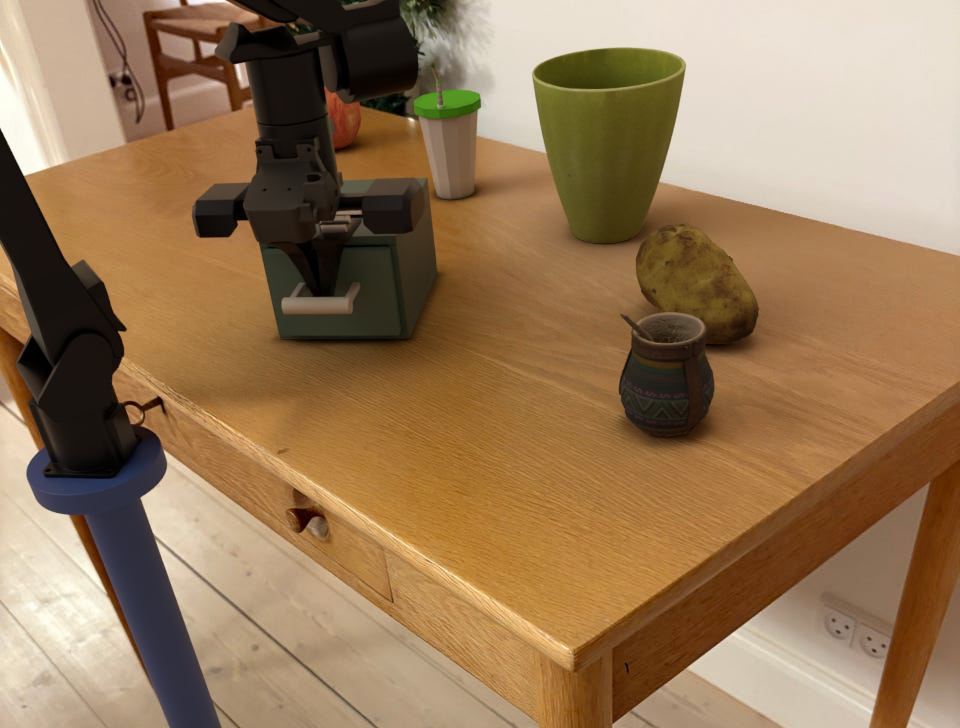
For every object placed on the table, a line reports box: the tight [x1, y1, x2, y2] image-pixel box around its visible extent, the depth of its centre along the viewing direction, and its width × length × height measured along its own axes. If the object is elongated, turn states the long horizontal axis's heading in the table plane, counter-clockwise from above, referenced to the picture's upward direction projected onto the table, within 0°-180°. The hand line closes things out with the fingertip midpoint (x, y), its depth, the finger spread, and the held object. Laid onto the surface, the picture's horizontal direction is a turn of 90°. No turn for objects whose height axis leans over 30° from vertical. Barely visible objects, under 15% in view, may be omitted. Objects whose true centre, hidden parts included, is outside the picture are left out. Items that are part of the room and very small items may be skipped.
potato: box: [635, 223, 760, 345], centre depth 92 cm, size 8×13×8 cm, turn 13°
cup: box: [413, 62, 482, 200], centre depth 120 cm, size 8×8×15 cm
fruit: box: [324, 85, 362, 150], centre depth 139 cm, size 9×10×10 cm
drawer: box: [263, 245, 401, 337], centre depth 97 cm, size 18×11×8 cm, turn 171°
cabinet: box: [258, 177, 439, 340], centre depth 100 cm, size 15×13×10 cm
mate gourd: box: [618, 312, 716, 437], centre depth 79 cm, size 7×8×10 cm
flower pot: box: [531, 46, 687, 244], centre depth 107 cm, size 15×15×16 cm
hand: (326, 307), depth 92 cm, fingers closed, pressing on drawer
